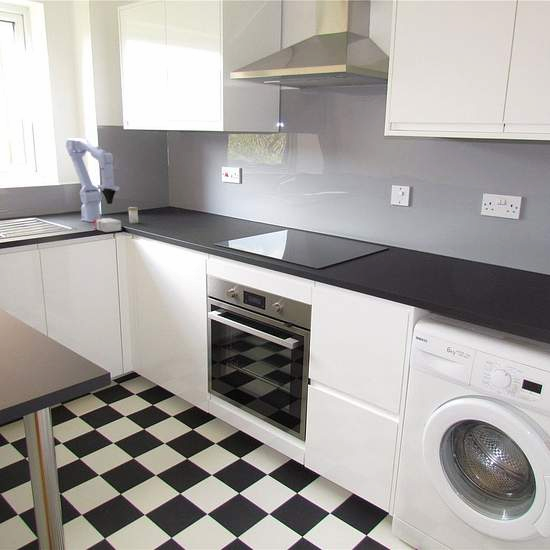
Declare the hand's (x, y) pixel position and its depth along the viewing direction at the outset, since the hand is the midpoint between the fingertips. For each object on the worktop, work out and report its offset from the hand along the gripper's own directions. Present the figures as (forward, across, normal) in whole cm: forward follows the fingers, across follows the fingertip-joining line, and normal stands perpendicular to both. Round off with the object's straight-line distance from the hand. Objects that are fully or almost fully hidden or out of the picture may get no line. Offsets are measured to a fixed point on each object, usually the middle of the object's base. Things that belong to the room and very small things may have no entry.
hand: (109, 203), depth 273 cm
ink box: (+8, +7, -12) cm, 16 cm away
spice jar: (+10, +7, +9) cm, 15 cm away
